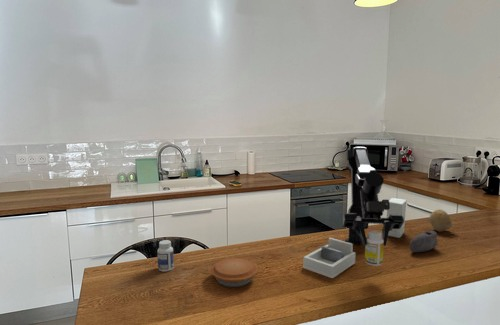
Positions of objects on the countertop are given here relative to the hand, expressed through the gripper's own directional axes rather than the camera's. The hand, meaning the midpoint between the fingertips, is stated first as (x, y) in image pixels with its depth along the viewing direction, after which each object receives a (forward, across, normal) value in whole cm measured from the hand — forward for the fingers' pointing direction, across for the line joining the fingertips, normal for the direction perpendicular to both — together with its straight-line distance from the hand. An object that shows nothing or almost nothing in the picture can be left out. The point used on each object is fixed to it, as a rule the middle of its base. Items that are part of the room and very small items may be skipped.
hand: (375, 245), depth 112 cm
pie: (+12, -45, +6) cm, 47 cm away
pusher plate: (0, -12, +16) cm, 20 cm away
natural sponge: (-28, +40, +47) cm, 68 cm away
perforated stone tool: (-11, +25, +29) cm, 40 cm away
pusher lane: (+2, -13, +16) cm, 21 cm away
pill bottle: (+8, -70, +9) cm, 71 cm away
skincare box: (-23, +19, +42) cm, 51 cm away
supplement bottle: (+4, 0, +6) cm, 7 cm away
